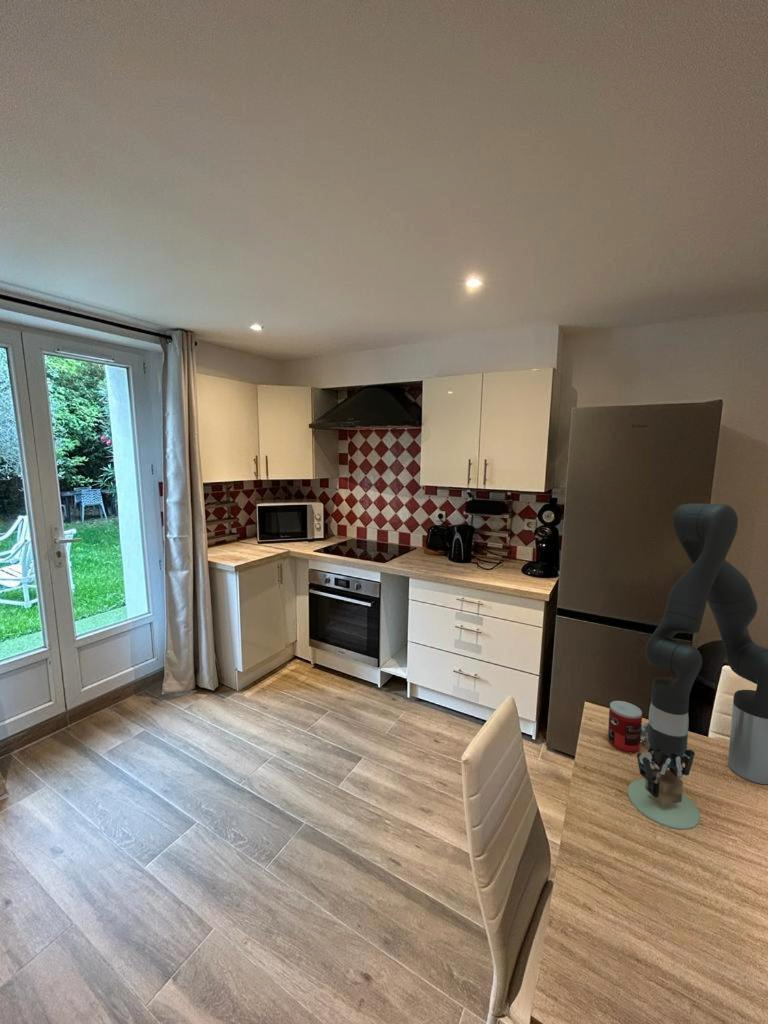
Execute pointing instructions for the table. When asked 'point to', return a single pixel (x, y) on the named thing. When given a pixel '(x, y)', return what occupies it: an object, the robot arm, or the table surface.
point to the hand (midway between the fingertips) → (663, 792)
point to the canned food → (624, 726)
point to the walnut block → (668, 788)
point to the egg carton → (644, 730)
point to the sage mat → (664, 808)
